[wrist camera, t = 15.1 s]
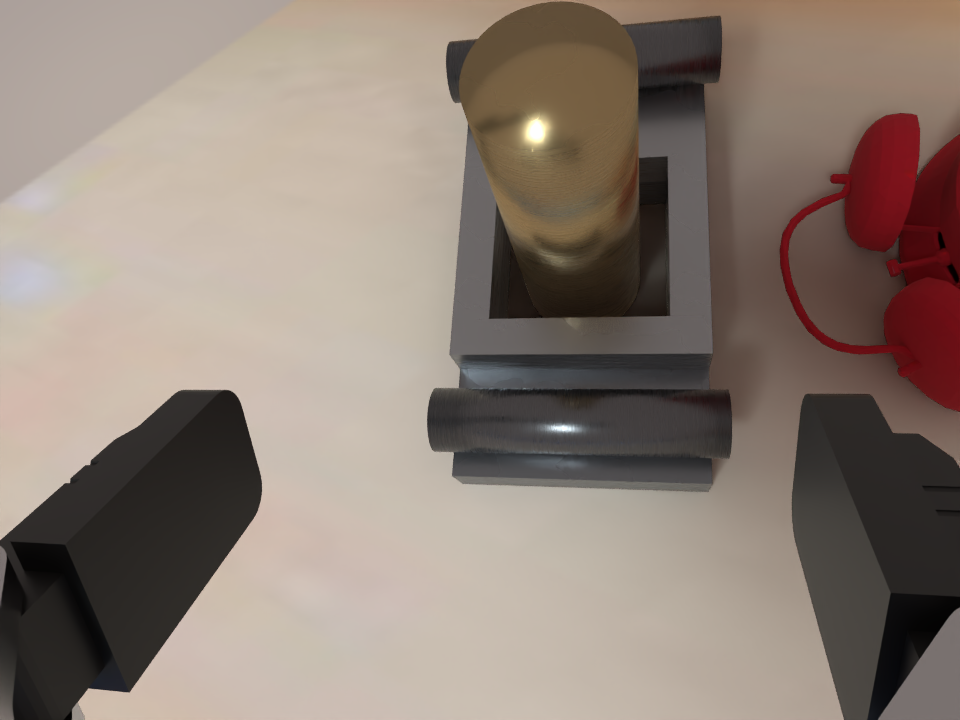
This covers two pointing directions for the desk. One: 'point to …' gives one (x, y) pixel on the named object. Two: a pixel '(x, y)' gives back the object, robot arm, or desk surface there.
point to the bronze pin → (561, 152)
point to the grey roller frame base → (595, 319)
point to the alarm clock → (904, 250)
